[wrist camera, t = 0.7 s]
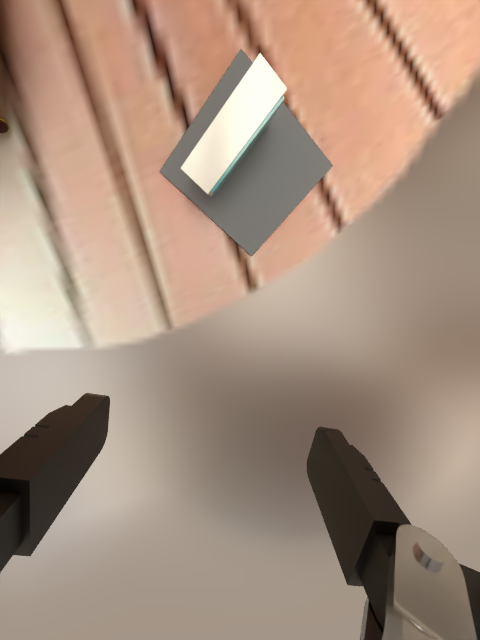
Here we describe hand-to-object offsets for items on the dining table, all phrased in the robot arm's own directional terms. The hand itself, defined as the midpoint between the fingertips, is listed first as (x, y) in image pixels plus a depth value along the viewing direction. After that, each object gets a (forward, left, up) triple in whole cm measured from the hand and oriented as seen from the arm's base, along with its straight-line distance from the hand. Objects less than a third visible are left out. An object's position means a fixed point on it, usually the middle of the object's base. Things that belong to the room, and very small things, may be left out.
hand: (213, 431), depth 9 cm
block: (-8, +11, -26) cm, 30 cm away
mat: (-5, +11, -27) cm, 29 cm away
